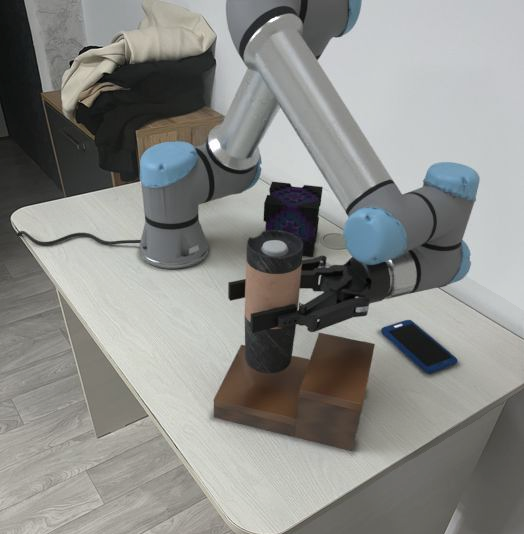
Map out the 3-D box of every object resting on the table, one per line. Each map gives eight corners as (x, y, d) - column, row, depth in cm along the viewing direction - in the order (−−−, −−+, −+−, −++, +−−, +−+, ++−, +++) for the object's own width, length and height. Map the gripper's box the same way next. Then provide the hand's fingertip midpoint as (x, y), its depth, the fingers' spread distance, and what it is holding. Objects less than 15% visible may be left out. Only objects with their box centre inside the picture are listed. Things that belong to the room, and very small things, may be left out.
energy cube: (261, 251, 126) (264, 202, 118) (269, 227, 135) (272, 181, 127) (313, 257, 125) (318, 208, 117) (317, 233, 134) (322, 186, 126)
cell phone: (408, 321, 107) (409, 318, 106) (458, 363, 97) (460, 360, 97) (379, 330, 104) (379, 327, 103) (427, 375, 95) (428, 372, 94)
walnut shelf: (213, 417, 85) (212, 370, 79) (240, 361, 95) (241, 316, 89) (352, 451, 81) (363, 404, 74) (364, 389, 91) (375, 343, 85)
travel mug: (293, 376, 81) (305, 259, 68) (242, 374, 81) (245, 256, 68) (292, 343, 87) (302, 230, 74) (244, 342, 86) (247, 228, 74)
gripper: (412, 333, 78) (269, 372, 70) (341, 265, 92) (214, 291, 84) (424, 290, 73) (272, 327, 65) (347, 225, 87) (214, 248, 80)
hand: (240, 306), depth 75 cm, fingers closed on travel mug, 7 cm apart
